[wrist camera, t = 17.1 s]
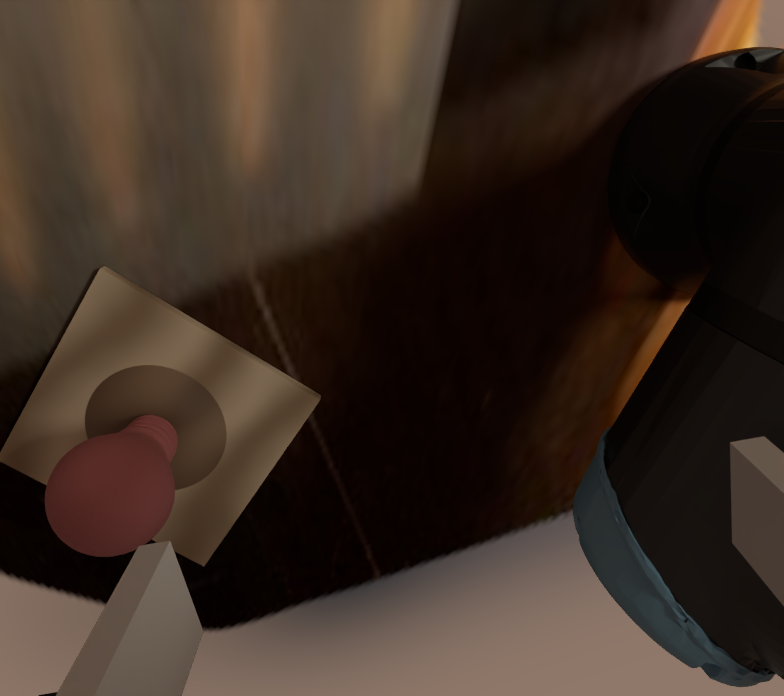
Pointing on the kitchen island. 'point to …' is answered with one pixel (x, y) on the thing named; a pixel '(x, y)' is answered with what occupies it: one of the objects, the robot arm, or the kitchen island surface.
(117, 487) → the dark red bulb shape
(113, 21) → the kitchen island surface
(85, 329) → the seat board
